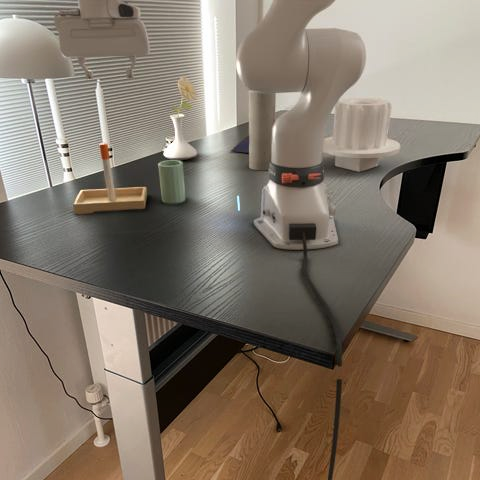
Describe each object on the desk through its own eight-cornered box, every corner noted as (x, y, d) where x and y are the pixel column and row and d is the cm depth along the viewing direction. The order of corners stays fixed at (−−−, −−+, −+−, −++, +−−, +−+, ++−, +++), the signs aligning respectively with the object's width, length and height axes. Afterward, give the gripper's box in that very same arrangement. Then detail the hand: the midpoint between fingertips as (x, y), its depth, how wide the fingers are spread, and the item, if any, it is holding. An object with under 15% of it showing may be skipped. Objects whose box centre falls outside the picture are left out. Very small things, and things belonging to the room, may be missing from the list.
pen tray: (145, 210, 121) (143, 200, 120) (75, 214, 119) (72, 204, 118) (147, 196, 130) (146, 186, 129) (82, 199, 129) (80, 190, 127)
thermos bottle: (275, 164, 156) (277, 67, 140) (272, 171, 149) (274, 70, 134) (251, 163, 157) (251, 67, 142) (247, 170, 150) (246, 70, 135)
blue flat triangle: (321, 136, 183) (321, 126, 180) (294, 165, 162) (294, 154, 160) (263, 131, 192) (263, 122, 189) (230, 158, 171) (229, 148, 169)
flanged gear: (412, 166, 151) (424, 101, 141) (364, 182, 138) (373, 112, 127) (349, 152, 167) (355, 93, 157) (300, 165, 153) (304, 102, 143)
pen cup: (186, 204, 124) (182, 165, 119) (162, 206, 123) (157, 167, 118) (185, 197, 129) (182, 159, 124) (162, 198, 129) (158, 160, 123)
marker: (116, 202, 124) (106, 144, 116) (108, 202, 124) (98, 144, 116) (116, 199, 126) (107, 142, 118) (109, 200, 126) (99, 143, 118)
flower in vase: (174, 164, 157) (167, 80, 144) (158, 158, 165) (149, 77, 151) (207, 158, 163) (203, 77, 150) (190, 152, 171) (185, 74, 158)
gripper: (49, 10, 102) (63, 81, 110) (145, 8, 104) (152, 78, 112) (54, 10, 108) (67, 78, 115) (146, 8, 110) (153, 75, 117)
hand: (110, 78), depth 114 cm, fingers open, 8 cm apart
